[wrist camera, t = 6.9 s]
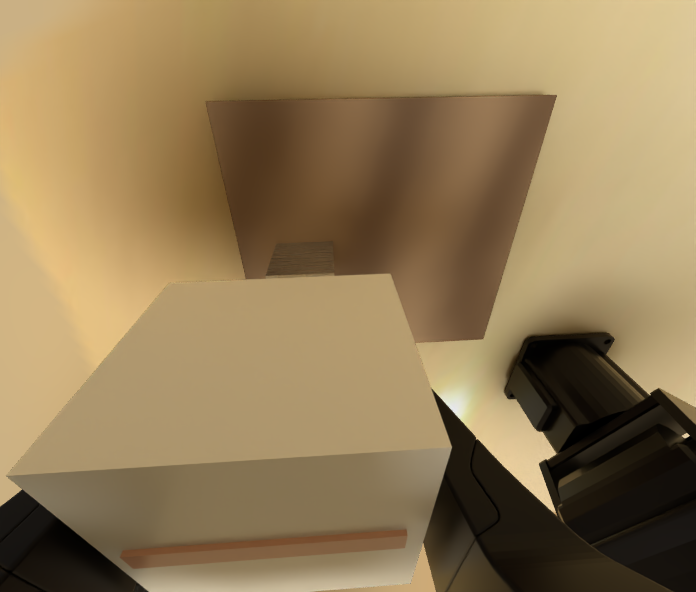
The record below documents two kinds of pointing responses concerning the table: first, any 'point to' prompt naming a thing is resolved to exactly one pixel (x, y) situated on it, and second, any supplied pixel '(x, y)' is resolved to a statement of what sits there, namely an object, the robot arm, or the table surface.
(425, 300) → the base plate
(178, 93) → the table surface
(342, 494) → the white carton
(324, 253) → the upright wooden block
